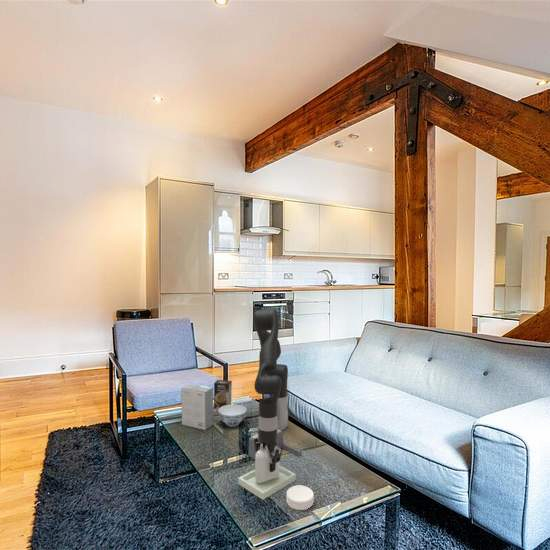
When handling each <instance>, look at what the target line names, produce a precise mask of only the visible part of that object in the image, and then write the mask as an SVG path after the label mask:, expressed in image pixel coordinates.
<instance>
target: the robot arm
mask: <svg viewBox="0 0 550 550" xmlns="http://www.w3.org/2000/svg"><path fill="white" fill-rule="evenodd" d="M252 318H253V323H254V327H255V329H256V331H255V332H256V334H257V336H258V339H259V345H260V350H259V357H258V358H259V359H258V361H259V363H258V365H259V367H258V372H257V375H256V378H255V381H254V384H253V385H254V391H255V392H256V393H257V394H258V395H269V396H268V397H264V398H261V399H260V400H259V403H258V419H257V420H258V421H257V434H258V437H257V438H255V439H254V445H255V451H256V452H257V451H259V450H260V449H262V448H265V449H266V450H267V454H268V457H269V459H270V472H273V471H275V469H276V468H275V466H276V463H277V462H279V461H281V456H282V452H283V449H282V448H281V447H280V448H278V447H277V444H276V439H277V429H279V430H281V431H282V430H283V431H285V430H286V429H287V428H286V427H287V426H288V427H289V409H288V408H287V406H288V379H289V378H288V376H289V369H288V366H287V364H280V363H277V361H278V359H279V358H280V356H281V354H282V349H281V344H280V343H281V342H280V341H279V329H280V315H279V312H278V310H277V309H276V308H265V309H257V310H254V312H253V317H252ZM269 330H270V332H269ZM284 429H285V430H284ZM258 447H259V450H258ZM273 451H274V453H272V452H273ZM270 453H272V454H270ZM272 456H273V459H272Z"/></svg>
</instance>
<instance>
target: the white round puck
mask: <svg viewBox="0 0 550 550" xmlns="http://www.w3.org/2000/svg"><path fill="white" fill-rule="evenodd" d="M285 501H286V504H287V506H288V507H290V508H291V509H293V510H296V511H305V510H309V509H310V507H311V506H312V505H313V506H314V504H315V493H314V491H313V490H312V489H311V488H310V487H308V486H306V485H302V484H301V485H300V484H299V485H298V484H297V485H294V486H291V487H289V488H288V489H287V491H286V500H285ZM313 503H314V504H313ZM313 506H312V507H313ZM312 507H311V508H312ZM308 508H309V509H308Z"/></svg>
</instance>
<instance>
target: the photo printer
mask: <svg viewBox="0 0 550 550" xmlns="http://www.w3.org/2000/svg"><path fill="white" fill-rule="evenodd" d="M272 453H274V451H273V452H272ZM272 453H270V454H272ZM272 459H273V456H272ZM254 460H255V461H254V469H255V480H256V482H257V483H262V482H265V481H268V480H271V479H274V478H276V477H278V476H279V466H281V464H280V461H281V460H280V461H279V462H277V463H276V466H275V468H276V469H275V471H273V472H270V459H269V457H268V454H267V450H266V449H265V448H262V449H260V450H259V451H257V452H256V454H255V459H254Z"/></svg>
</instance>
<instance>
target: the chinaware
mask: <svg viewBox="0 0 550 550" xmlns="http://www.w3.org/2000/svg"><path fill="white" fill-rule="evenodd" d="M217 411H218V415H219V417H220V420H221V421H222V422H223V423H225V425H226V426H227V427H238V425H240V423H241V422H242V421H243V420H244V419H245V417H246V414H247V411H248V409H247V407H246V406H244V405H241V404H237V403H236V404H233V403H231V405H225V406H222V407H220V408H219V410H217Z"/></svg>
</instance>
